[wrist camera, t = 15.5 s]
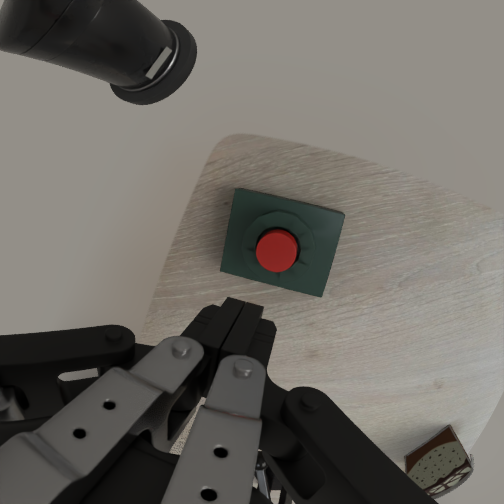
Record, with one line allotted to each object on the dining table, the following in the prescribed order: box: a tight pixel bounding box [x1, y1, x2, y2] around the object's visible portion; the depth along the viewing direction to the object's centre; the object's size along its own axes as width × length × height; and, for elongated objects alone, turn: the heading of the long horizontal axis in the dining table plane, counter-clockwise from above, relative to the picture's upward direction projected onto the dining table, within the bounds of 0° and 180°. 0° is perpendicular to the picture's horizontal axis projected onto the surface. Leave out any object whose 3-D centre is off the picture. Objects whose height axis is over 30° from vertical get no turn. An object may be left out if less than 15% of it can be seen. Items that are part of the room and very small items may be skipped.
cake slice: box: [404, 425, 474, 499], centre depth 25 cm, size 12×6×10 cm, turn 143°
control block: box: [220, 188, 345, 297], centre depth 25 cm, size 10×8×4 cm
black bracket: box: [254, 467, 292, 504], centre depth 31 cm, size 11×8×12 cm
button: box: [256, 229, 297, 272], centre depth 23 cm, size 3×3×2 cm
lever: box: [255, 451, 271, 500], centre depth 29 cm, size 15×3×3 cm, turn 16°
